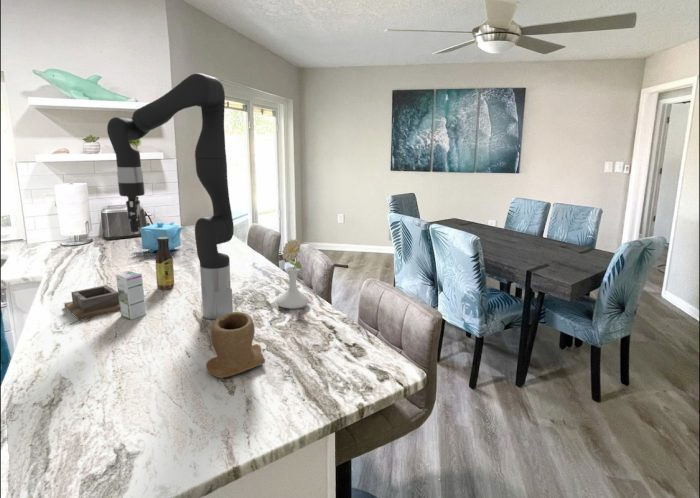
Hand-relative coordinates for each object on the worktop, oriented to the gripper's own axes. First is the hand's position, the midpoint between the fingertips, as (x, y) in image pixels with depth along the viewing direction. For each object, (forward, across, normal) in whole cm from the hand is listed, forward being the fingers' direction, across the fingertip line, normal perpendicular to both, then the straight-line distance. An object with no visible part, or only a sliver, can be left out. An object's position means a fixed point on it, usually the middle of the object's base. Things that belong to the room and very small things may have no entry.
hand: (135, 229), depth 146 cm
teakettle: (+26, +76, -6) cm, 80 cm away
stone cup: (+28, -56, -25) cm, 67 cm away
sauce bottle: (+27, +16, -7) cm, 32 cm away
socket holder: (+26, +1, +14) cm, 30 cm away
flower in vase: (+28, -19, -49) cm, 59 cm away
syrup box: (+27, -10, +3) cm, 29 cm away
